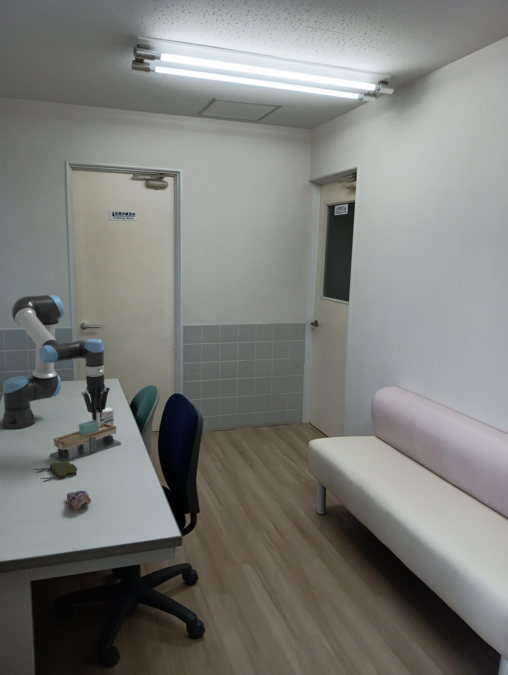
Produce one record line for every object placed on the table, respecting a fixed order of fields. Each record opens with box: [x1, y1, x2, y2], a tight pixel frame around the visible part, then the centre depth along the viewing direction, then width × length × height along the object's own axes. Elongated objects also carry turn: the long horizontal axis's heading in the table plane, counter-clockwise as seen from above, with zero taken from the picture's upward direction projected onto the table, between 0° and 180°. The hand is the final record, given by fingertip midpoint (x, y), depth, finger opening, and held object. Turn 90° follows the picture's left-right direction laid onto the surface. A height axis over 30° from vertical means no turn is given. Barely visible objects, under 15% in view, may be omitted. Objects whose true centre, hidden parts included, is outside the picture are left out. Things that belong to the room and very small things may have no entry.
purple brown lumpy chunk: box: [66, 489, 92, 511], centre depth 174 cm, size 12×8×6 cm, turn 34°
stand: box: [49, 435, 122, 463], centre depth 221 cm, size 11×28×7 cm, turn 140°
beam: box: [53, 423, 117, 450], centre depth 220 cm, size 8×26×3 cm, turn 140°
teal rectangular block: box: [78, 419, 99, 436], centre depth 221 cm, size 4×7×5 cm, turn 141°
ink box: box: [100, 406, 115, 426], centre depth 241 cm, size 9×5×12 cm, turn 123°
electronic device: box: [32, 461, 78, 483], centre depth 198 cm, size 14×3×15 cm
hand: (97, 426), depth 224 cm, fingers closed
